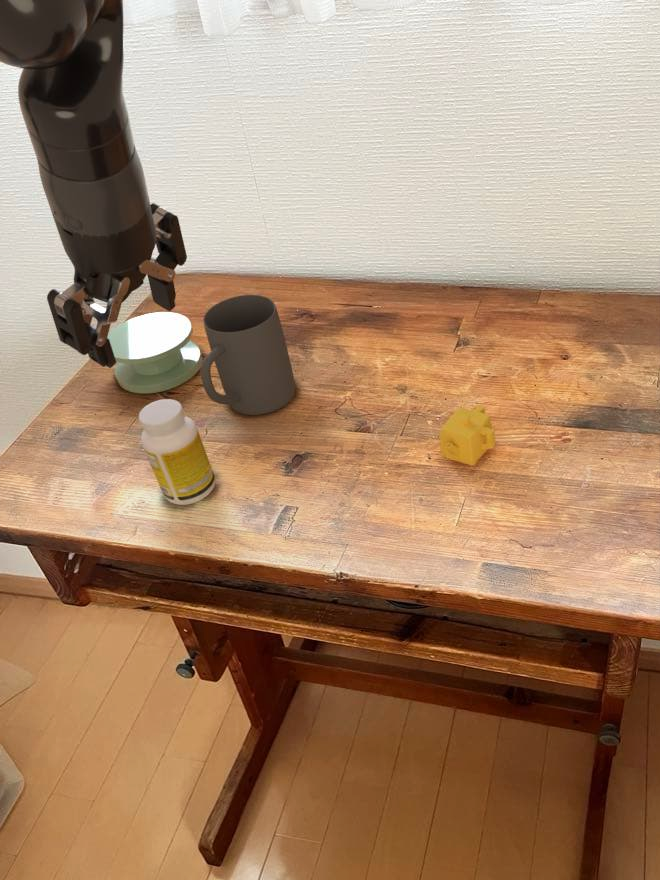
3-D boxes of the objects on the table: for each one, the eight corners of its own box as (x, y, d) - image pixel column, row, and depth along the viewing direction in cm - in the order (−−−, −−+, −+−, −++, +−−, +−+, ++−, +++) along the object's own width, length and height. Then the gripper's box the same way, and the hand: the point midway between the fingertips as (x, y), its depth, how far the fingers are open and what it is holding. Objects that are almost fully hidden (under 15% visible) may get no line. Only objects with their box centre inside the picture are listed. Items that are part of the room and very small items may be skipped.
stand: (164, 400, 110) (151, 366, 106) (99, 383, 115) (84, 350, 111) (219, 353, 117) (209, 319, 114) (155, 339, 122) (143, 306, 118)
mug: (253, 370, 113) (231, 289, 105) (310, 382, 109) (291, 299, 101) (192, 428, 105) (162, 346, 97) (251, 443, 101) (225, 359, 93)
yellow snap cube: (476, 483, 91) (474, 446, 88) (432, 469, 94) (427, 432, 90) (510, 442, 96) (509, 405, 92) (466, 429, 99) (463, 393, 95)
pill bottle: (224, 473, 98) (197, 395, 90) (204, 508, 94) (174, 430, 86) (177, 469, 99) (146, 393, 92) (155, 504, 95) (121, 427, 87)
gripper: (122, 128, 69) (153, 270, 83) (-5, 227, 63) (52, 361, 77) (195, 169, 68) (213, 306, 82) (72, 274, 62) (116, 402, 76)
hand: (135, 333), depth 80 cm, fingers open, 8 cm apart
